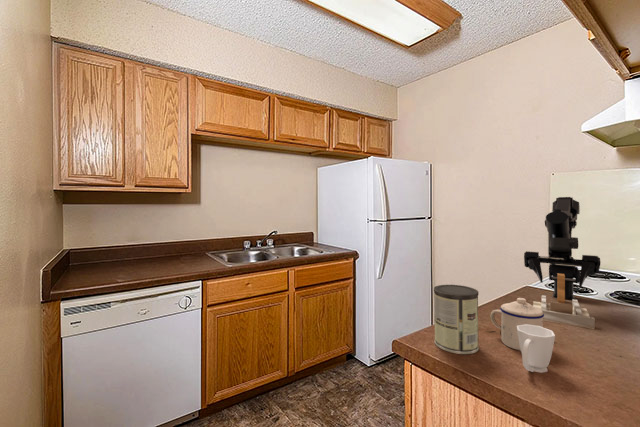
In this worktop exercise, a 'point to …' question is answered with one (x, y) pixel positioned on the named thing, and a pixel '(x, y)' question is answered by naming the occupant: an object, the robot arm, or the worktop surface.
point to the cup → (535, 347)
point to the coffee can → (456, 318)
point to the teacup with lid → (516, 320)
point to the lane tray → (566, 315)
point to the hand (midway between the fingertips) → (560, 284)
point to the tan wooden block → (561, 298)
